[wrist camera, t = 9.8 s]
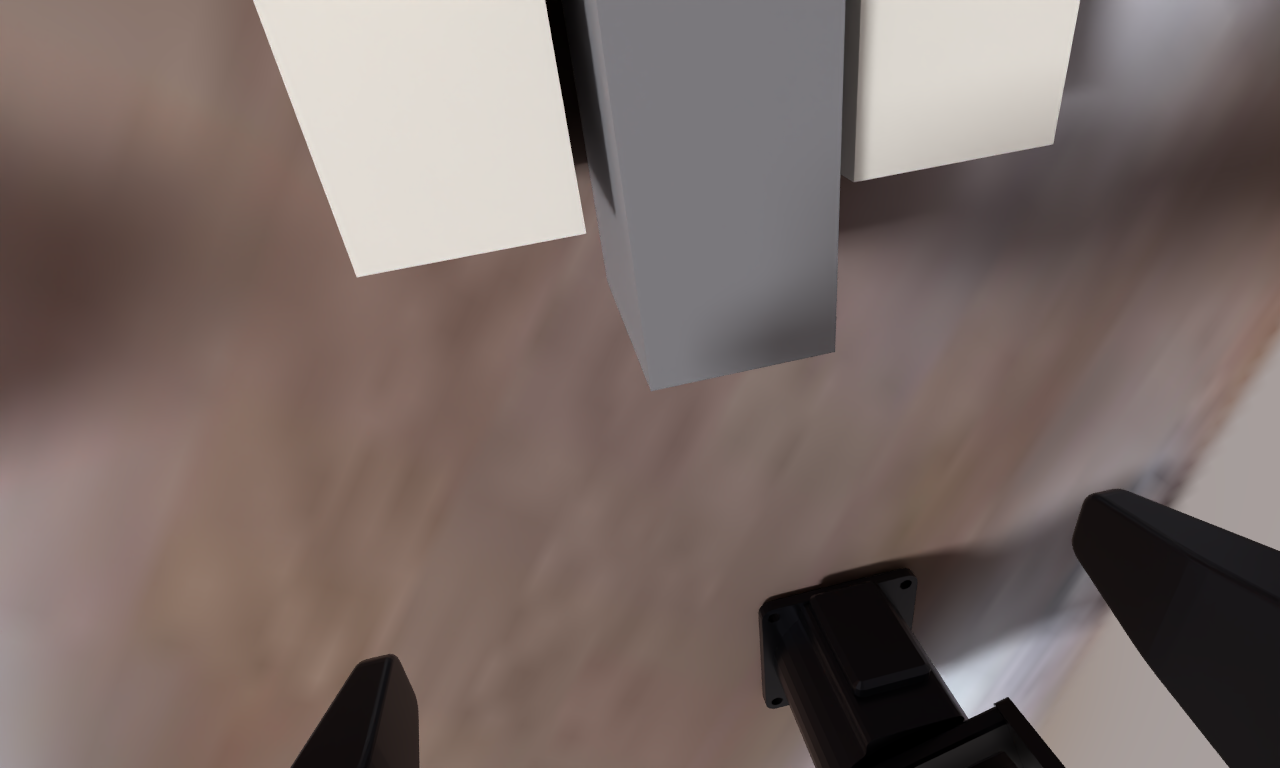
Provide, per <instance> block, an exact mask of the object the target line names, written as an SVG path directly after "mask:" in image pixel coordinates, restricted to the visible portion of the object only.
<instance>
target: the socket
mask: <svg viewBox="0 0 1280 768" xmlns="http://www.w3.org/2000/svg"><path fill="white" fill-rule="evenodd" d="M253 1H254V4H255V6H256V9H257V12H258V14H259V17H260V20H261V22H262V25H263V28H264V30H265V33H266V36H267V38H268V41H269V44H270V46H271V49H272V52H273V54H274V57H275V60H276V62H277V65H278V68H279V70H280V73H281V76H282V78H283V81H284V84H285V86H286V89H287V92H288V94H289V97H290V100H291V102H292V105H293V108H294V110H295V113H296V116H297V118H298V121H299V124H300V126H301V129H302V132H303V134H304V137H305V140H306V142H307V145H308V148H309V150H310V153H311V156H312V158H313V161H314V164H315V167H316V169H317V172H318V175H319V177H320V180H321V183H322V185H323V188H324V191H325V193H326V196H327V199H328V201H329V204H330V207H331V209H332V212H333V215H334V217H335V220H336V223H337V225H338V228H339V231H340V233H341V236H342V239H343V241H344V244H345V247H346V249H347V252H348V255H349V257H350V260H351V263H352V265H353V268H354V271H355V273H356V276H357V277H361V276H366V275H371V274H377V273H382V272H387V271H392V270H397V269H403V268H408V267H413V266H418V265H424V264H429V263H434V262H439V261H445V260H450V259H455V258H460V257H466V256H471V255H476V254H481V253H487V252H492V251H497V250H502V249H507V248H513V247H518V246H523V245H528V244H534V243H539V242H544V241H549V240H555V239H560V238H565V237H570V236H576V235H581V234H586V230H585V225H584V219H583V213H582V207H581V202H580V196H579V190H578V185H577V179H576V173H575V168H574V162H573V156H572V151H571V145H570V139H569V134H568V128H567V122H566V116H565V111H564V105H563V99H562V94H561V88H560V82H559V77H558V71H557V65H556V60H555V54H554V48H553V43H552V37H551V31H550V26H549V20H548V14H547V8H546V3H545V0H253ZM1079 4H1080V0H845V33H844V67H843V100H842V134H841V168H840V175H842V176H844V177H846V178H847V179H849V180H851V181H853V182H858V181H864V180H869V179H874V178H879V177H885V176H890V175H895V174H900V173H905V172H911V171H916V170H921V169H926V168H932V167H937V166H942V165H947V164H953V163H958V162H963V161H968V160H974V159H979V158H984V157H989V156H994V155H1000V154H1005V153H1010V152H1015V151H1021V150H1026V149H1031V148H1036V147H1042V146H1047V145H1052V144H1053V142H1054V137H1055V132H1056V126H1057V121H1058V116H1059V110H1060V105H1061V100H1062V94H1063V89H1064V84H1065V78H1066V73H1067V68H1068V62H1069V57H1070V52H1071V46H1072V41H1073V36H1074V31H1075V25H1076V20H1077V15H1078V9H1079Z"/></svg>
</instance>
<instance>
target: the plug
mask: <svg viewBox="0 0 1280 768" xmlns="http://www.w3.org/2000/svg"><path fill="white" fill-rule="evenodd" d="M561 1H562V7H563V13H564V19H565V25H566V32H567V38H568V44H569V50H570V56H571V62H572V68H573V74H574V80H575V86H576V93H577V99H578V105H579V111H580V117H581V123H582V129H583V135H584V141H585V147H586V154H587V160H588V166H589V172H590V178H591V184H592V190H593V196H594V202H595V209H596V215H597V221H598V227H599V233H600V239H601V245H602V251H603V257H604V263H605V270H606V276H607V281H608V284H609V286H610V289H611V292H612V294H613V297H614V299H615V302H616V304H617V307H618V309H619V312H620V314H621V317H622V319H623V322H624V324H625V327H626V329H627V332H628V335H629V337H630V340H631V342H632V345H633V347H634V350H635V352H636V355H637V357H638V360H639V362H640V365H641V367H642V370H643V372H644V375H645V378H646V380H647V383H648V385H649V388H650V390H651V391H654V390H659V389H663V388H668V387H673V386H677V385H682V384H687V383H692V382H696V381H701V380H706V379H710V378H715V377H720V376H724V375H729V374H734V373H738V372H743V371H748V370H752V369H757V368H762V367H766V366H771V365H776V364H780V363H785V362H790V361H794V360H799V359H804V358H808V357H813V356H818V355H823V354H827V353H832V352H835V336H836V302H837V268H838V235H839V201H840V168H841V134H842V100H843V67H844V33H845V0H561Z"/></svg>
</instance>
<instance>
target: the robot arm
mask: <svg viewBox="0 0 1280 768" xmlns="http://www.w3.org/2000/svg"><path fill="white" fill-rule="evenodd" d="M1072 546H1073V550H1074V552H1075V555H1076V557H1077V558H1078V560H1079V562H1080V563H1081V565H1082V566H1083V568H1084V569H1085V571H1086V572H1087V574H1088V575H1089V577H1090V578H1091V580H1092V581H1093V583H1094V585H1095V586H1096V588H1097V589H1098V591H1099V592H1100V594H1101V595H1102V597H1103V598H1104V600H1105V601H1106V603H1107V604H1108V606H1109V607H1110V609H1111V610H1112V612H1113V614H1114V615H1115V617H1116V618H1117V620H1118V621H1119V623H1120V624H1121V626H1122V627H1123V629H1124V630H1125V632H1126V633H1127V635H1128V636H1129V638H1130V639H1131V641H1132V643H1133V644H1134V645H1135V647H1136V648H1137V650H1138V651H1139V652H1140V654H1141V656H1142V657H1143V658H1144V660H1145V661H1146V662H1147V664H1148V665H1149V666H1150V668H1151V669H1152V670H1153V672H1154V673H1155V674H1156V676H1157V677H1158V678H1159V680H1160V681H1161V682H1162V683H1163V684H1164V686H1165V687H1166V688H1167V690H1168V691H1169V692H1170V693H1171V695H1172V696H1173V697H1174V698H1175V699H1176V701H1177V702H1178V703H1179V705H1180V706H1181V707H1182V709H1183V710H1184V711H1185V712H1186V713H1187V715H1188V716H1189V717H1190V719H1191V720H1192V721H1193V722H1194V723H1195V725H1196V726H1197V727H1198V729H1199V730H1200V731H1201V732H1202V734H1203V735H1204V736H1205V738H1206V739H1207V740H1208V741H1209V742H1210V744H1211V745H1212V746H1213V748H1214V749H1215V750H1216V751H1217V753H1219V755H1220V756H1221V758H1222V759H1223V760H1224V761H1225V763H1226V764H1227V765H1228V766H1229V768H1280V551H1278V550H1275V549H1273V548H1270V547H1268V546H1265V545H1263V544H1260V543H1258V542H1255V541H1252V540H1250V539H1248V538H1245V537H1243V536H1240V535H1237V534H1235V533H1232V532H1230V531H1227V530H1225V529H1222V528H1220V527H1217V526H1214V525H1212V524H1209V523H1207V522H1205V521H1202V520H1199V519H1197V518H1194V517H1192V516H1189V515H1187V514H1184V513H1182V512H1179V511H1177V510H1174V509H1172V508H1169V507H1167V506H1164V505H1162V504H1159V503H1157V502H1154V501H1151V500H1149V499H1146V498H1144V497H1141V496H1139V495H1136V494H1134V493H1131V492H1129V491H1126V490H1122V489H1111V490H1106V491H1102V492H1098V493H1093V494H1091V495H1089V496H1088V497H1086V498H1085V500H1084V502H1083V505H1082V508H1081V511H1080V514H1079V517H1078V520H1077V524H1076V527H1075V530H1074V533H1073V537H1072ZM916 590H917V578H916V577H915V575H914V574H913V572H912V571H911V570H910V569H907V568H903V569H898V570H894V571H890V572H886V573H882V574H878V575H874V576H870V577H866V578H862V579H858V580H854V581H850V582H846V583H842V584H838V585H834V586H830V587H826V588H822V589H818V590H814V591H810V592H806V593H802V594H798V595H794V596H790V597H786V598H782V599H778V600H774V601H770V602H768V603H765V604H764V605H763V606H761V608H760V609H759V613H758V614H759V633H760V652H761V671H762V690H763V698H764V700H765V703H766V705H767V707H768V708H772V709H774V708H779V707H783V706H787V705H790V708H791V710H792V712H793V715H794V717H795V720H796V722H797V724H798V727H799V729H800V732H801V734H802V736H803V739H804V741H805V744H806V746H807V748H808V751H809V753H810V756H811V758H812V760H813V763H814V765H815V768H1065V767H1064V765H1063V764H1062V763H1061V762H1060V760H1059V759H1058V758H1057V757H1056V755H1055V754H1054V753H1053V752H1052V750H1051V749H1050V748H1049V747H1048V746H1047V744H1046V743H1045V742H1044V741H1043V739H1042V738H1041V737H1040V736H1039V734H1038V733H1037V732H1036V731H1035V729H1034V728H1033V727H1032V726H1031V725H1030V723H1029V722H1028V721H1027V720H1026V718H1025V717H1024V716H1023V715H1022V713H1021V712H1020V711H1019V710H1018V708H1017V707H1016V706H1015V705H1014V703H1013V702H1012V701H1011V700H1010V699H1009V697H1007V698H1005V699H1003V700H1000V701H998V702H996V703H994V707H993V708H991V709H989V710H987V711H985V712H983V713H981V714H979V715H976V716H974V717H972V718H970V719H968V717H967V716H966V714H965V713H964V711H963V710H962V708H961V707H960V705H959V704H958V702H957V701H956V699H955V697H954V696H953V694H952V693H951V691H950V690H949V688H948V687H947V685H946V684H945V682H944V680H943V679H942V677H941V676H940V674H939V673H938V671H937V670H936V668H935V667H934V665H933V663H932V662H931V660H930V659H929V657H928V656H927V654H926V653H925V651H924V650H923V648H922V646H921V645H920V643H919V642H918V640H917V639H916V637H915V636H914V634H913V633H912V631H911V629H912V621H913V613H914V605H915V597H916ZM291 768H419V717H418V705H417V699H416V696H415V693H414V691H413V688H412V686H411V684H410V682H409V680H408V678H407V675H406V673H405V671H404V669H403V667H402V664H401V662H400V660H399V659H398V657H397V656H395V655H393V654H388V655H383V656H379V657H374V658H370V659H366V660H363V661H361V662H360V663H359V664H358V665H357V666H356V667H355V668H354V669H353V671H352V673H351V674H350V676H349V677H348V679H347V680H346V682H345V683H344V685H343V687H342V688H341V690H340V691H339V693H338V694H337V696H336V698H335V699H334V701H333V702H332V704H331V705H330V707H329V708H328V710H327V712H326V713H325V715H324V716H323V718H322V719H321V721H320V722H319V724H318V726H317V727H316V729H315V730H314V732H313V733H312V735H311V736H310V738H309V740H308V741H307V743H306V744H305V746H304V747H303V749H302V750H301V752H300V754H299V755H298V757H297V758H296V760H295V761H294V763H293V764H292V766H291Z"/></svg>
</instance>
